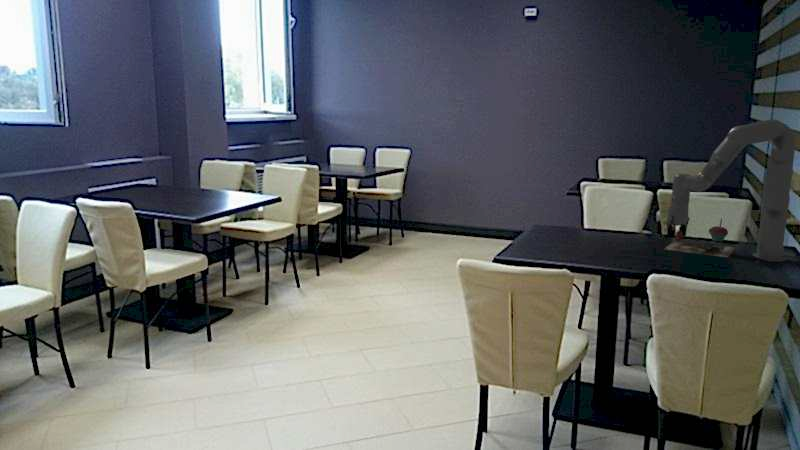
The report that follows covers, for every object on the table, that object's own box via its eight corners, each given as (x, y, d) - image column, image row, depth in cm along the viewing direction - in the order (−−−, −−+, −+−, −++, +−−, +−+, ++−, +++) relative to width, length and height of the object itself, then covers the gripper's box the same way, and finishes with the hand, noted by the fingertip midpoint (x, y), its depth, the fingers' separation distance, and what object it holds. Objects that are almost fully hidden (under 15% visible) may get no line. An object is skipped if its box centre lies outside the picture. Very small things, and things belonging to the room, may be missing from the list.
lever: (724, 251, 271) (726, 238, 270) (719, 252, 268) (720, 239, 267) (678, 242, 289) (679, 229, 288) (672, 243, 286) (673, 230, 285)
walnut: (710, 251, 270) (711, 243, 269) (709, 253, 266) (710, 244, 266) (701, 250, 272) (702, 242, 271) (699, 252, 269) (700, 243, 268)
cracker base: (735, 250, 279) (736, 242, 279) (727, 260, 260) (728, 252, 259) (674, 242, 294) (675, 235, 293) (663, 251, 275) (664, 244, 274)
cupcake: (730, 242, 295) (733, 218, 293) (712, 242, 295) (715, 218, 293) (721, 239, 304) (724, 215, 301) (704, 238, 304) (707, 215, 301)
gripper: (683, 198, 288) (679, 233, 291) (661, 200, 278) (658, 237, 282) (698, 200, 282) (694, 236, 285) (677, 203, 272) (673, 240, 276)
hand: (676, 236), depth 284 cm, fingers open, 9 cm apart
